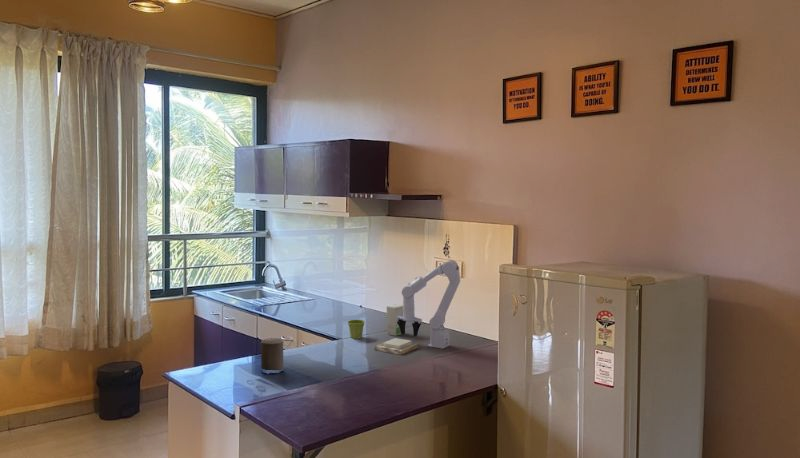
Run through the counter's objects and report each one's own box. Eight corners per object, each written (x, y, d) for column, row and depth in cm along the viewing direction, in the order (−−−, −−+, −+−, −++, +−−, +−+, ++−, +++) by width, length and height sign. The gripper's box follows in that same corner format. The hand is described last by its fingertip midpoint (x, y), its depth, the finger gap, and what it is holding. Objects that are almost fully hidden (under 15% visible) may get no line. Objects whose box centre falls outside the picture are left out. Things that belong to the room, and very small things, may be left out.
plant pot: (366, 335, 322) (366, 319, 321) (363, 339, 312) (363, 323, 312) (349, 335, 323) (349, 319, 322) (346, 339, 313) (345, 323, 313)
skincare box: (395, 336, 319) (395, 307, 318) (385, 334, 323) (385, 306, 322) (404, 333, 326) (404, 305, 324) (395, 331, 330) (395, 303, 329)
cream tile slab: (411, 347, 296) (411, 340, 296) (399, 352, 287) (399, 345, 287) (395, 344, 302) (394, 338, 302) (382, 349, 293) (382, 342, 293)
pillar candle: (261, 375, 255) (261, 341, 254) (260, 368, 265) (260, 335, 263) (284, 373, 258) (284, 339, 257) (282, 366, 267) (282, 334, 266)
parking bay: (417, 347, 296) (417, 344, 295) (400, 354, 284) (400, 350, 284) (392, 343, 305) (391, 339, 305) (374, 349, 293) (374, 345, 293)
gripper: (424, 309, 301) (425, 335, 302) (401, 306, 310) (402, 331, 311) (417, 311, 295) (417, 338, 296) (393, 308, 304) (394, 334, 305)
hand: (409, 335), depth 303 cm, fingers open, 7 cm apart
